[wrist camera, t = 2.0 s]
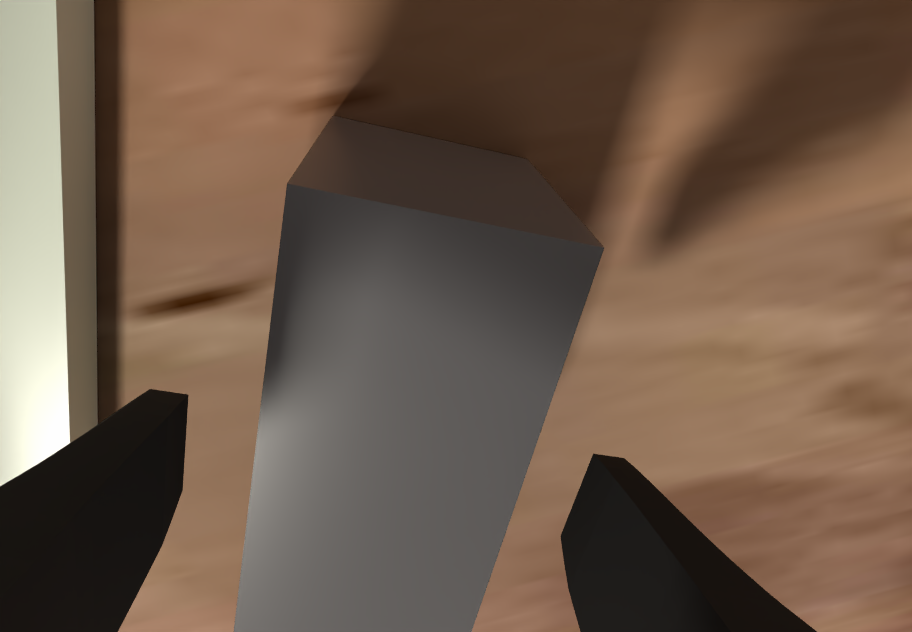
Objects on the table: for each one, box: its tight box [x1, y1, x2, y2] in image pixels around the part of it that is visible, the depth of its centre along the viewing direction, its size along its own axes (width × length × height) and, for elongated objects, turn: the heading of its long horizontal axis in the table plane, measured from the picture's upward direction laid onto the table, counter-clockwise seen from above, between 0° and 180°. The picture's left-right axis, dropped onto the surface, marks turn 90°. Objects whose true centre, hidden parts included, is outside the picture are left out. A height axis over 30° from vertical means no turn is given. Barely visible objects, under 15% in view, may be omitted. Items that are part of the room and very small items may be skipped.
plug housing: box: [234, 116, 604, 632], centre depth 14 cm, size 13×4×6 cm, turn 167°
